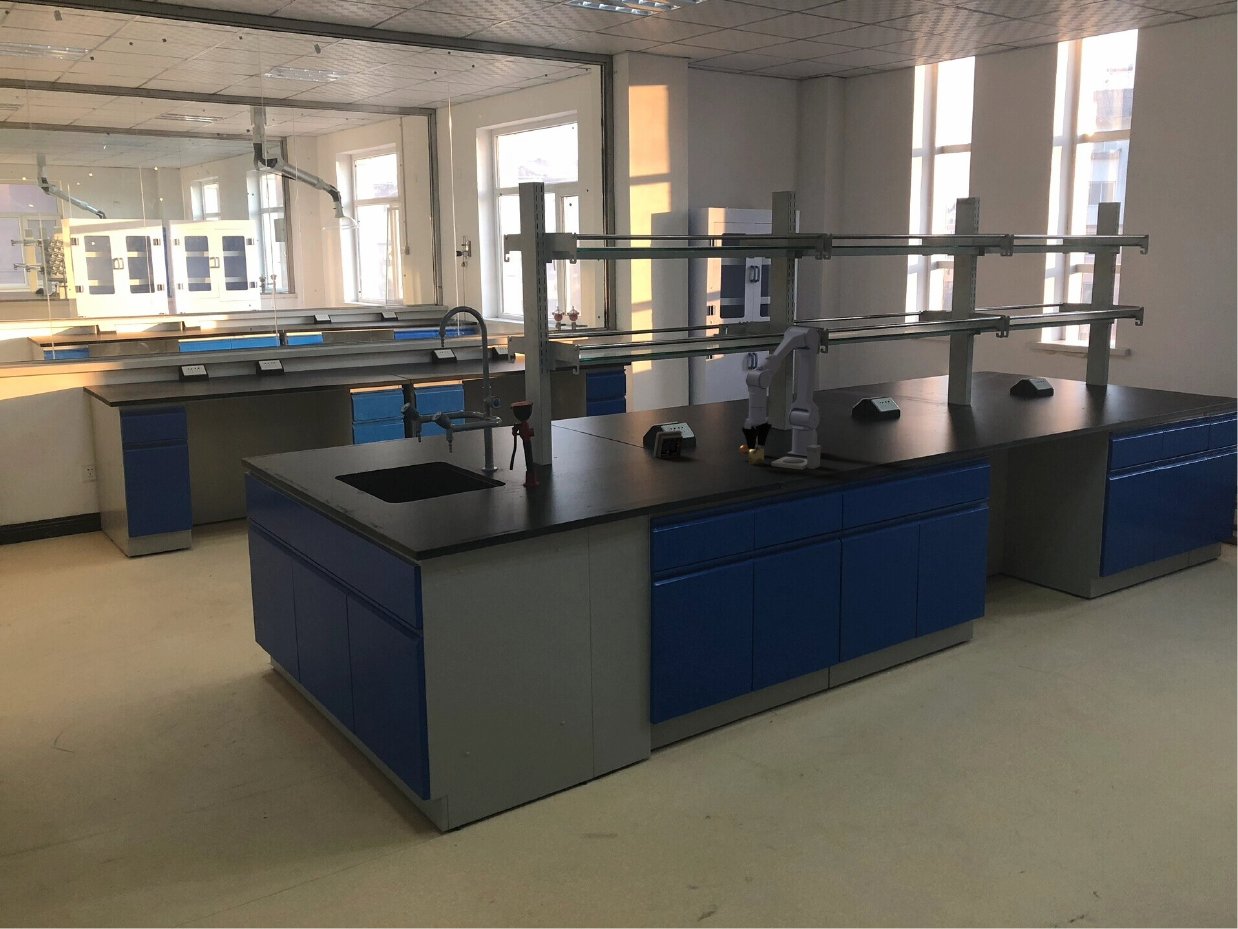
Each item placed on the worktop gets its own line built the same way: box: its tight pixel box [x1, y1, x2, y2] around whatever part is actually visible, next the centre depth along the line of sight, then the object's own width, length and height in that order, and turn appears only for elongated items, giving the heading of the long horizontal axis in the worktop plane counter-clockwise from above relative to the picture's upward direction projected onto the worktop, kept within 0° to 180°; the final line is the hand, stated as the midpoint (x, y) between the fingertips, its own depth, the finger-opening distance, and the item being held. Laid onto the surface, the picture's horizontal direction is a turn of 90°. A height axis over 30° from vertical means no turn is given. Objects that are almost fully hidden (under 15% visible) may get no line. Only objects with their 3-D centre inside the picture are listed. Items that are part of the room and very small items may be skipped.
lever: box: [738, 444, 757, 456], centre depth 345 cm, size 10×4×4 cm, turn 146°
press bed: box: [770, 444, 822, 471], centre depth 335 cm, size 11×14×7 cm
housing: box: [748, 446, 765, 467], centre depth 337 cm, size 5×5×6 cm
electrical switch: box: [653, 429, 684, 459], centre depth 348 cm, size 9×5×9 cm, turn 113°
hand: (756, 447), depth 337 cm, fingers open, 7 cm apart
